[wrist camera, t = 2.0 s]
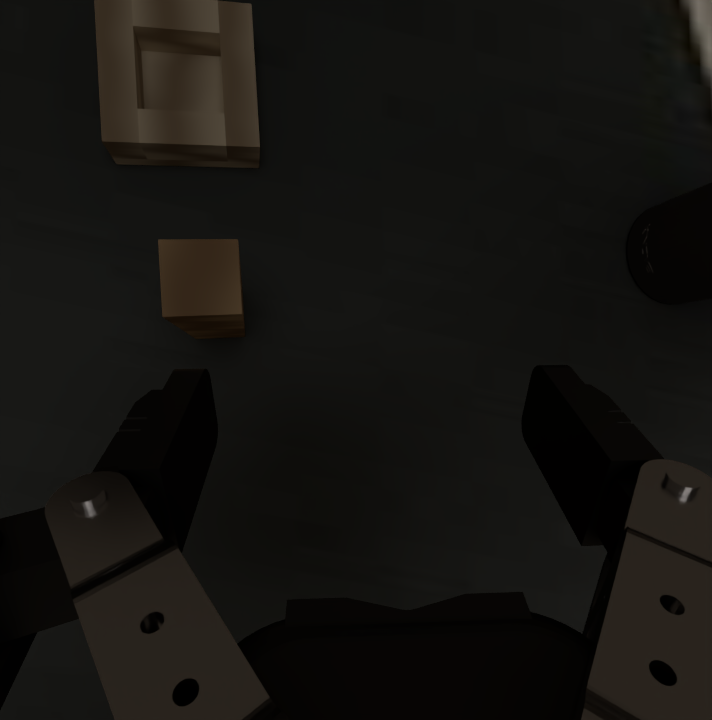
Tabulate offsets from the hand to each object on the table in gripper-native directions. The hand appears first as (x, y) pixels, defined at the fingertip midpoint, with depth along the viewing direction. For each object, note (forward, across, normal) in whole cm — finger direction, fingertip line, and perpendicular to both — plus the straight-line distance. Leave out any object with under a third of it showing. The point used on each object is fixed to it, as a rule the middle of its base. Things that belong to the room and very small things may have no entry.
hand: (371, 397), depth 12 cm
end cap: (+31, +12, -6) cm, 34 cm away
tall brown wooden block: (+23, +9, +8) cm, 26 cm away
